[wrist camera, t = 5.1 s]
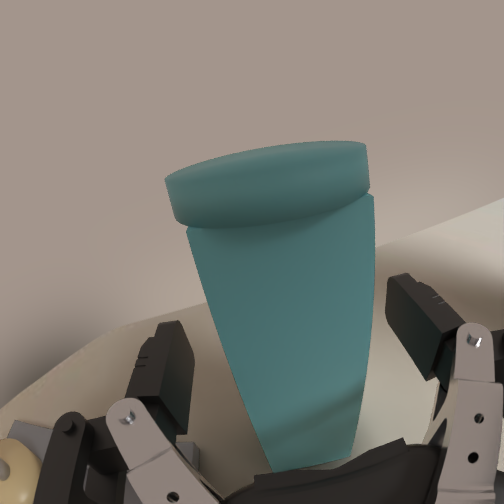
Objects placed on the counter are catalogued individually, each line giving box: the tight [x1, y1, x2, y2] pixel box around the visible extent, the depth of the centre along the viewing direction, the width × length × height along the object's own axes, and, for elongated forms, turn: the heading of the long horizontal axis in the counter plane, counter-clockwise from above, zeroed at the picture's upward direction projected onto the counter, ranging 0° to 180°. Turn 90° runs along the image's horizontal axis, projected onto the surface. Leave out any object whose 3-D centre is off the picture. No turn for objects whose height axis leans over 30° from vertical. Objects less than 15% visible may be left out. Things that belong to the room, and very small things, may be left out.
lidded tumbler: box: [165, 141, 375, 473], centre depth 10 cm, size 5×5×14 cm
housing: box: [0, 420, 199, 504], centre depth 7 cm, size 16×11×4 cm
